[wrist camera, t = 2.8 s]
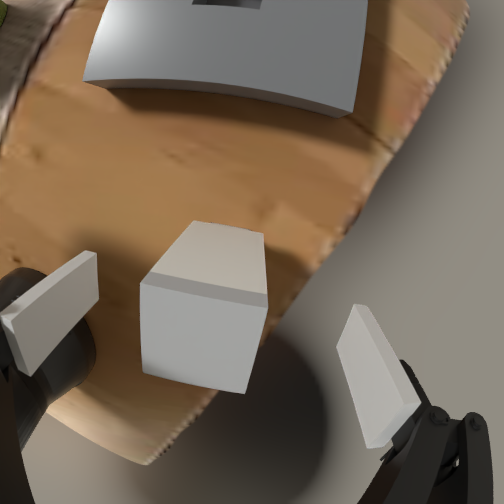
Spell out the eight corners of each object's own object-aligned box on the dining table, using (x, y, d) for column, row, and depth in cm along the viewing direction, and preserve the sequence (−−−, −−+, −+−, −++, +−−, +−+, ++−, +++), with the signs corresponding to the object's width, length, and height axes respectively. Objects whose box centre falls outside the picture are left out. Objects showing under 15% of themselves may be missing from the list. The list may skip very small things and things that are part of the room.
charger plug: (250, 276, 22) (244, 393, 11) (194, 266, 22) (142, 372, 11) (262, 221, 21) (268, 308, 9) (202, 210, 20) (140, 282, 9)
